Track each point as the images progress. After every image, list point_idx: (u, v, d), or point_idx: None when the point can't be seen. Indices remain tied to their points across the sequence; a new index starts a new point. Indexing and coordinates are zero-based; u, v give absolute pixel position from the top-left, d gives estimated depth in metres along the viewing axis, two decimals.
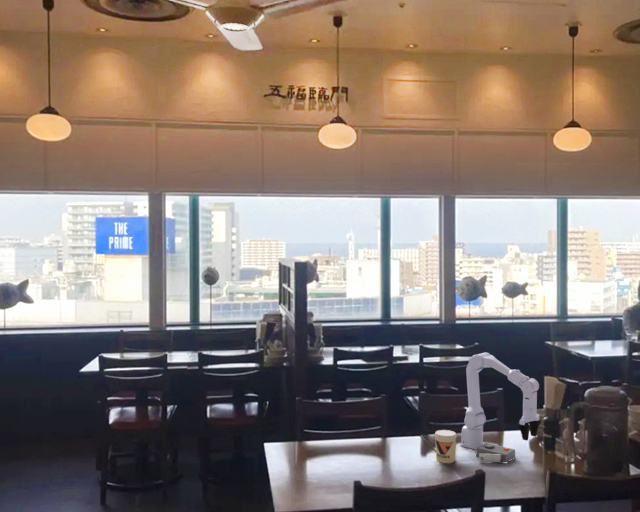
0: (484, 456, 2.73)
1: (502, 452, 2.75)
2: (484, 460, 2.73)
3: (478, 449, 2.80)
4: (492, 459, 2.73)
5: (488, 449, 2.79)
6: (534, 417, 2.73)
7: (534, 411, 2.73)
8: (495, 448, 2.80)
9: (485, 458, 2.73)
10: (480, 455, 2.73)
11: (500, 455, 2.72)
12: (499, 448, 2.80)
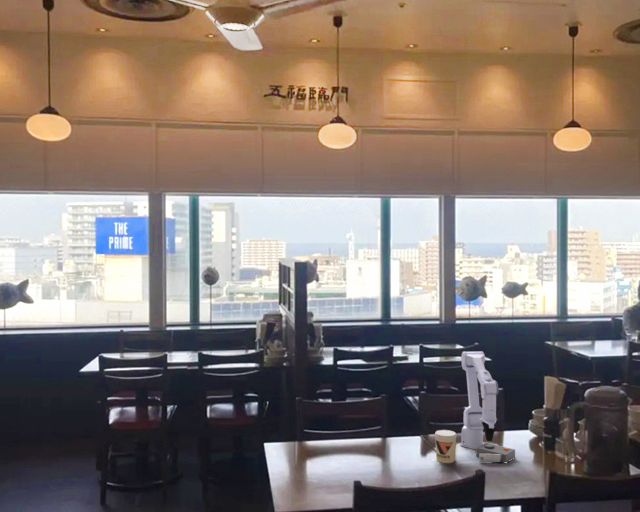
0: (484, 456, 2.73)
1: (502, 452, 2.75)
2: (484, 460, 2.73)
3: (478, 449, 2.80)
4: (492, 459, 2.73)
5: (488, 449, 2.79)
6: None
7: None
8: (495, 448, 2.80)
9: (485, 458, 2.73)
10: (480, 455, 2.73)
11: (500, 455, 2.72)
12: (499, 448, 2.80)
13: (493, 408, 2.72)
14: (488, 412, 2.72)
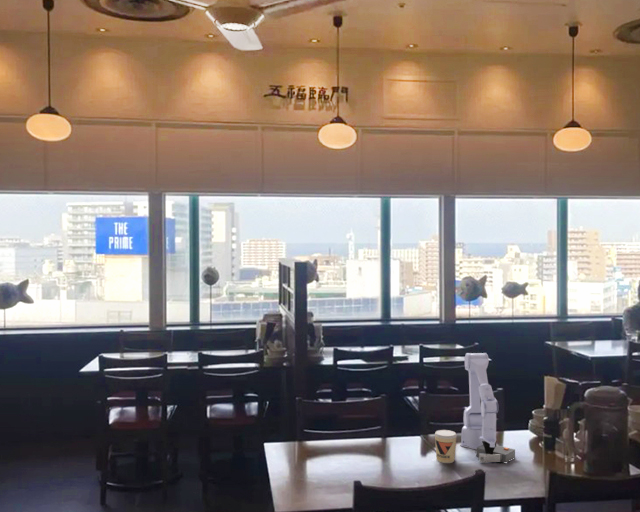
0: (484, 456, 2.73)
1: (502, 452, 2.75)
2: (484, 460, 2.73)
3: (478, 449, 2.80)
4: (492, 459, 2.73)
5: None
6: None
7: None
8: (495, 448, 2.80)
9: (485, 458, 2.73)
10: (480, 455, 2.73)
11: (500, 455, 2.72)
12: (499, 448, 2.80)
13: (493, 427, 2.72)
14: (488, 431, 2.72)
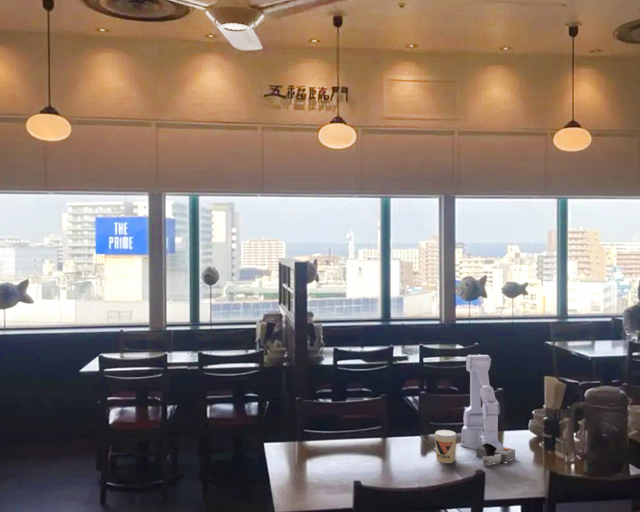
0: (487, 458, 2.70)
1: (502, 452, 2.75)
2: (487, 463, 2.70)
3: (478, 449, 2.80)
4: (494, 460, 2.71)
5: None
6: (484, 438, 2.71)
7: (484, 432, 2.71)
8: None
9: (488, 460, 2.70)
10: (484, 458, 2.69)
11: (500, 455, 2.72)
12: None
13: (494, 429, 2.69)
14: (492, 433, 2.68)
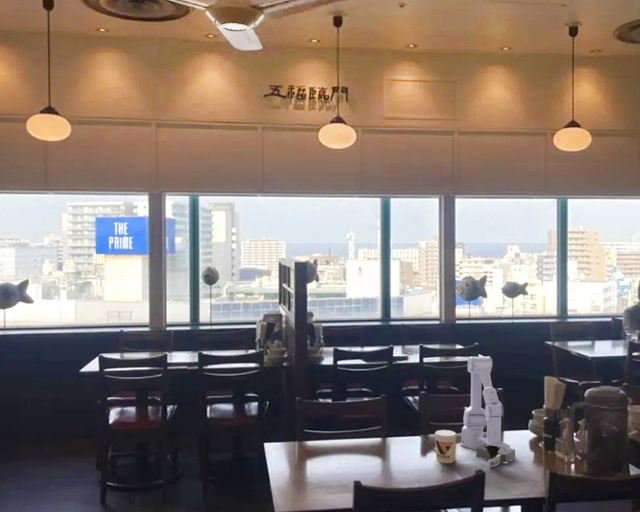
0: (492, 460, 2.67)
1: (502, 452, 2.75)
2: (492, 465, 2.68)
3: (478, 449, 2.80)
4: (497, 461, 2.70)
5: None
6: (488, 441, 2.68)
7: (488, 435, 2.68)
8: None
9: None
10: (490, 461, 2.66)
11: (501, 455, 2.72)
12: None
13: (498, 431, 2.67)
14: (498, 435, 2.67)
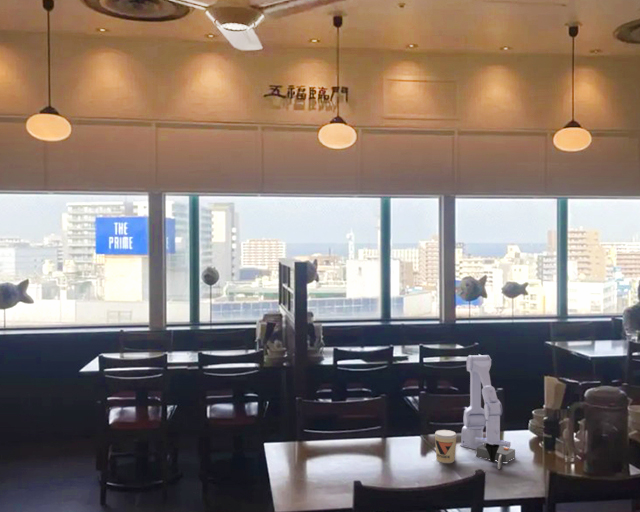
0: (500, 462, 2.66)
1: (502, 452, 2.75)
2: None
3: (478, 449, 2.80)
4: (500, 462, 2.69)
5: None
6: (489, 440, 2.69)
7: (489, 434, 2.69)
8: None
9: None
10: (499, 462, 2.64)
11: (501, 455, 2.72)
12: (499, 448, 2.80)
13: (497, 429, 2.68)
14: (499, 433, 2.69)
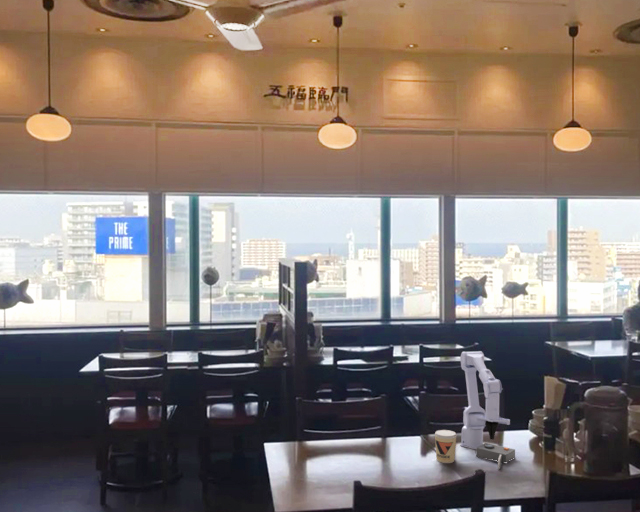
0: (500, 462, 2.66)
1: (502, 452, 2.75)
2: None
3: (478, 449, 2.80)
4: (500, 462, 2.69)
5: (488, 449, 2.79)
6: (488, 417, 2.73)
7: (488, 411, 2.73)
8: (495, 448, 2.80)
9: None
10: (499, 462, 2.64)
11: (501, 455, 2.72)
12: (499, 448, 2.80)
13: (497, 407, 2.72)
14: (498, 410, 2.73)
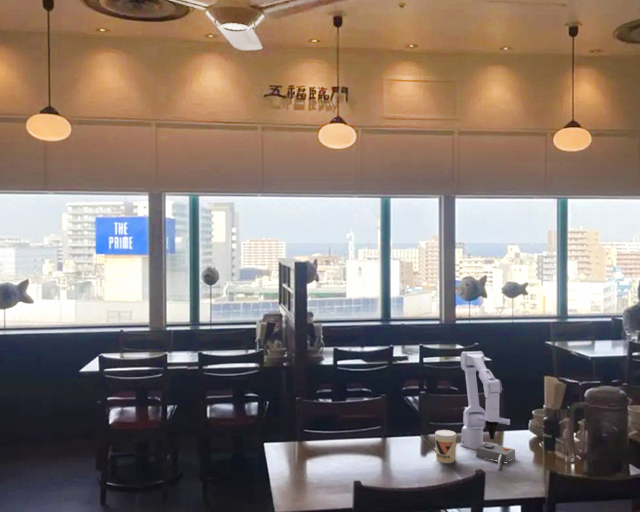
0: (500, 462, 2.66)
1: (502, 452, 2.75)
2: None
3: (478, 449, 2.80)
4: (500, 462, 2.69)
5: (488, 449, 2.79)
6: (488, 417, 2.73)
7: (488, 411, 2.73)
8: (495, 448, 2.80)
9: None
10: (499, 462, 2.64)
11: (501, 455, 2.72)
12: (499, 448, 2.80)
13: (497, 407, 2.72)
14: (498, 410, 2.73)
